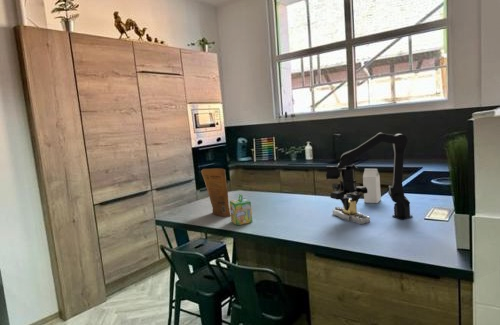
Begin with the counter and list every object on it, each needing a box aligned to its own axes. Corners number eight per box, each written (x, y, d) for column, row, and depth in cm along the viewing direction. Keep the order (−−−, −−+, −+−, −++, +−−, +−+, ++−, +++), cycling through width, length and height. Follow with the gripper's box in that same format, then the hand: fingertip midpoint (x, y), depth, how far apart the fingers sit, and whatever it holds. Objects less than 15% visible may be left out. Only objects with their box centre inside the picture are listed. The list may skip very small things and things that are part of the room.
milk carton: (377, 203, 187) (375, 169, 184) (364, 202, 191) (362, 169, 189) (380, 200, 192) (379, 167, 190) (368, 199, 197) (366, 167, 194)
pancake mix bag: (226, 218, 188) (220, 169, 184) (205, 214, 202) (199, 168, 198) (235, 215, 193) (229, 167, 189) (214, 211, 206) (208, 166, 203)
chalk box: (231, 221, 182) (228, 194, 180) (247, 218, 185) (244, 192, 183) (236, 226, 173) (233, 198, 171) (253, 222, 176) (250, 195, 174)
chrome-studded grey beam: (372, 221, 158) (372, 214, 158) (360, 225, 156) (359, 218, 155) (342, 211, 179) (341, 205, 178) (330, 214, 176) (330, 208, 175)
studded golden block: (356, 212, 165) (356, 199, 165) (350, 214, 164) (349, 201, 163) (350, 210, 170) (349, 197, 169) (343, 212, 168) (342, 199, 168)
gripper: (352, 173, 176) (354, 202, 178) (322, 179, 168) (324, 210, 170) (367, 176, 165) (369, 207, 167) (336, 182, 158) (338, 214, 160)
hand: (350, 209), depth 167 cm, fingers closed on studded golden block, 4 cm apart
